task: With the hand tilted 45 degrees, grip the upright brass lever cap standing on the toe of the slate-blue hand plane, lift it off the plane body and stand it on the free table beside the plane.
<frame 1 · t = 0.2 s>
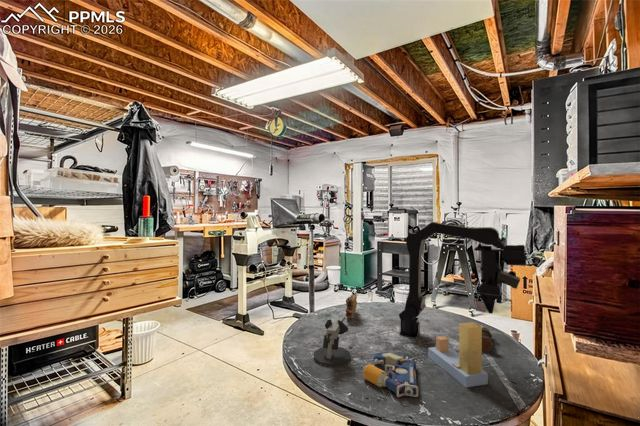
hand: (491, 309, 105), 14 cm above the table, tool pointing down, fingers open, 9 cm apart
gun turret: (334, 353, 104), on the table
wooden carving: (351, 317, 139), on the table
bolt: (484, 344, 111), on the table
toy gun: (390, 378, 89), on the table
plane body: (455, 369, 93), on the table
lever cap: (470, 370, 87), point 3 cm above the table, touching plane body
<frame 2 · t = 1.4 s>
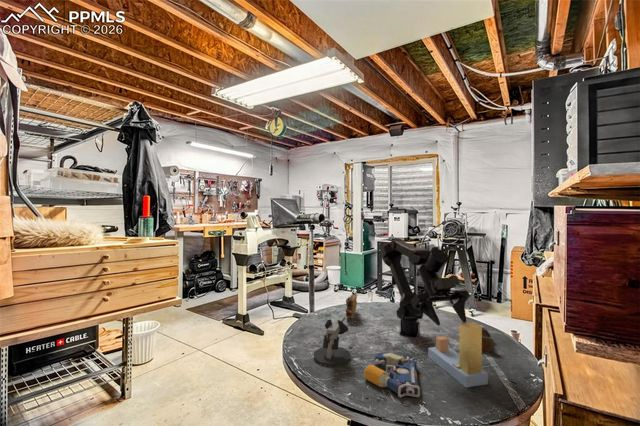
hand: (452, 323, 94), 13 cm above the table, tool tilted 45°, fingers open, 9 cm apart
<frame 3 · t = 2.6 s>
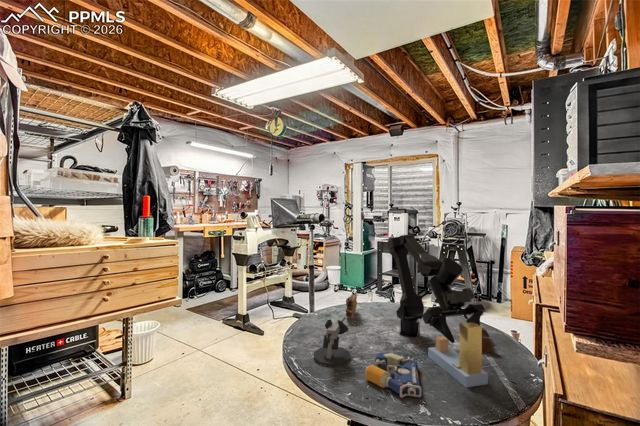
hand: (467, 340, 88), 11 cm above the table, tool tilted 45°, fingers open, 9 cm apart
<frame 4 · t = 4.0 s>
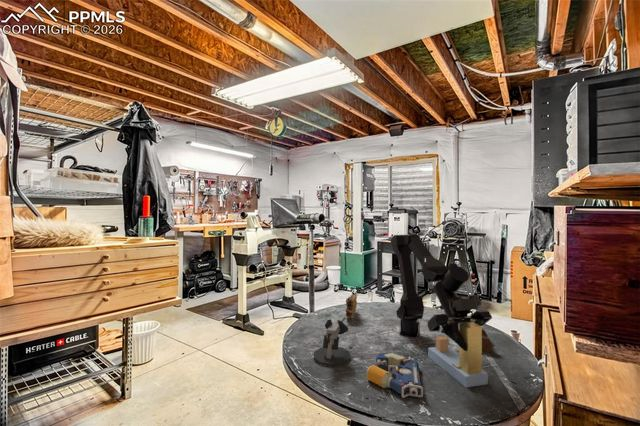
hand: (473, 349, 85), 10 cm above the table, tool tilted 45°, fingers closed on lever cap, 4 cm apart
lever cap: (470, 370, 87), point 3 cm above the table, touching gripper, plane body
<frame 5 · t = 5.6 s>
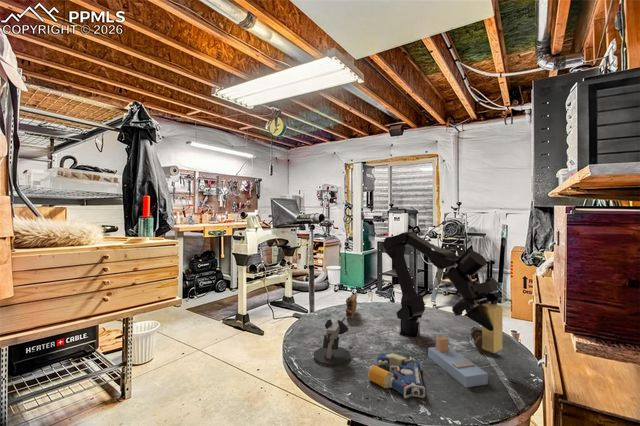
hand: (496, 328, 90), 13 cm above the table, tool tilted 45°, fingers closed on lever cap, 4 cm apart
lever cap: (492, 348, 92), point 7 cm above the table, touching gripper
when the fingers open (8 cm above the table, at t = 7.7 s): lever cap drops 1 cm, on the table.
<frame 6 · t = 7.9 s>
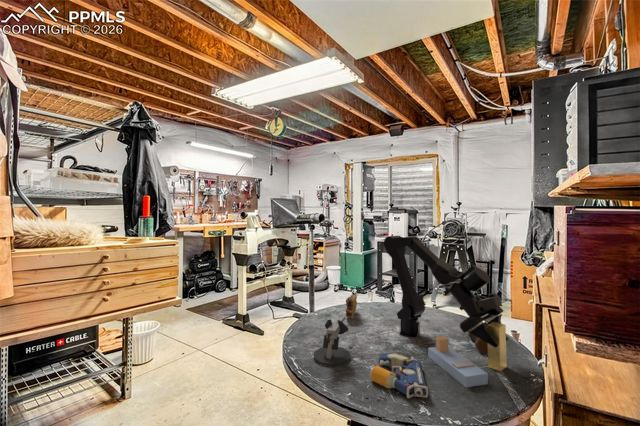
hand: (502, 343, 93), 8 cm above the table, tool tilted 45°, fingers open, 7 cm apart
lever cap: (497, 367, 94), on the table
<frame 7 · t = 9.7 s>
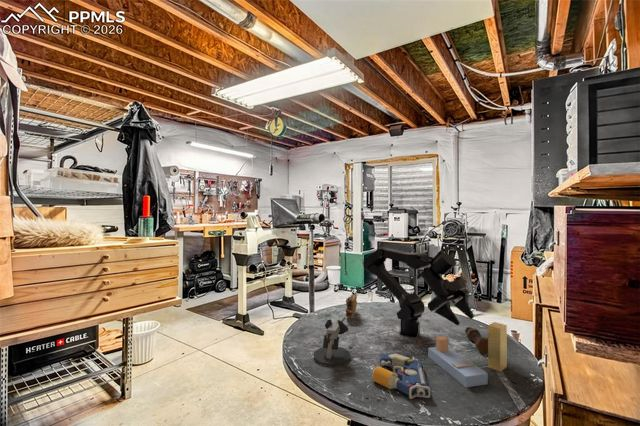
hand: (465, 321, 102), 11 cm above the table, tool tilted 45°, fingers open, 9 cm apart
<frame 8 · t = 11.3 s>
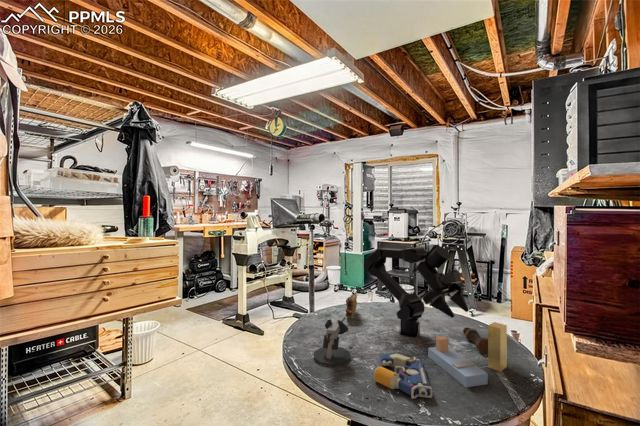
hand: (460, 314, 103), 14 cm above the table, tool tilted 45°, fingers open, 9 cm apart
at the end: lever cap inside the target area (0.7 cm from its centre), on the table; lever cap tilted 0°; the gripper is holding nothing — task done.
